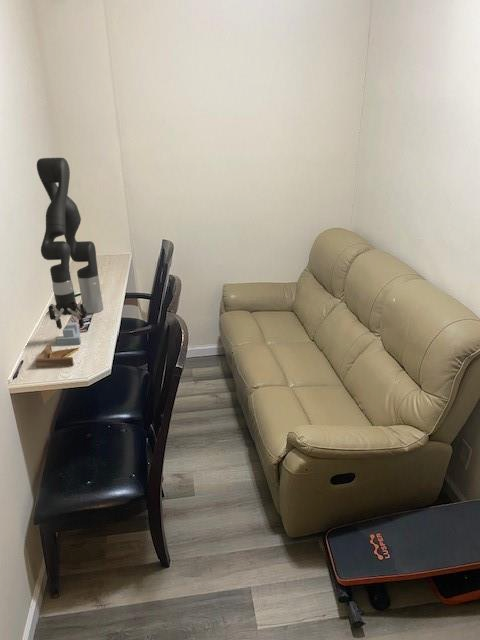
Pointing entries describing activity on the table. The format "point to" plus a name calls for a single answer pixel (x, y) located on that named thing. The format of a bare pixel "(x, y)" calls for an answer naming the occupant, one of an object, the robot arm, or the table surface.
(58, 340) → the grey inverted t block
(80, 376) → the table surface
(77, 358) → the table surface
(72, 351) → the shard
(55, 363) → the corner fence
